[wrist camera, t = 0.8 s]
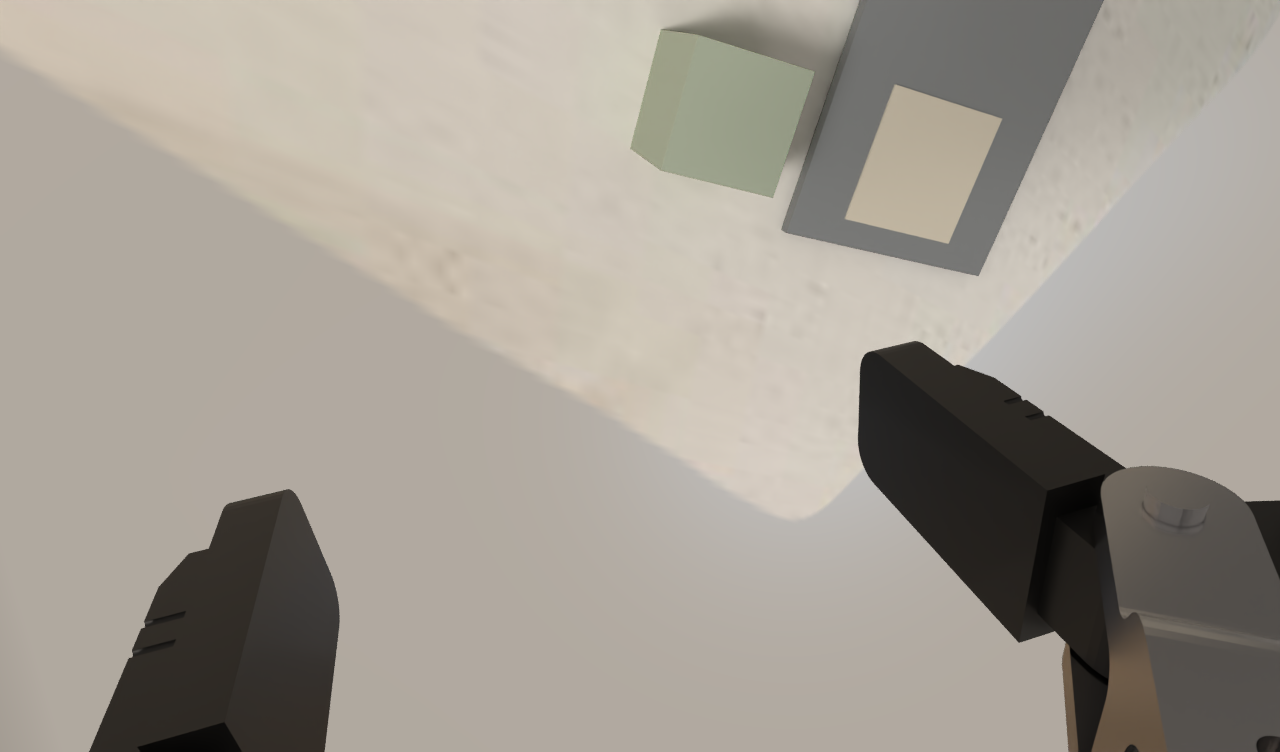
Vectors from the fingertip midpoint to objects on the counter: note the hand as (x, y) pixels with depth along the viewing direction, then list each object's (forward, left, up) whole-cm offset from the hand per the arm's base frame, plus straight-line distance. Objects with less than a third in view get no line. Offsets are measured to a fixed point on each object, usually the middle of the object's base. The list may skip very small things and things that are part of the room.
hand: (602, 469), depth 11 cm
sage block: (-4, +9, -25) cm, 27 cm away
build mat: (-11, +21, -25) cm, 34 cm away
